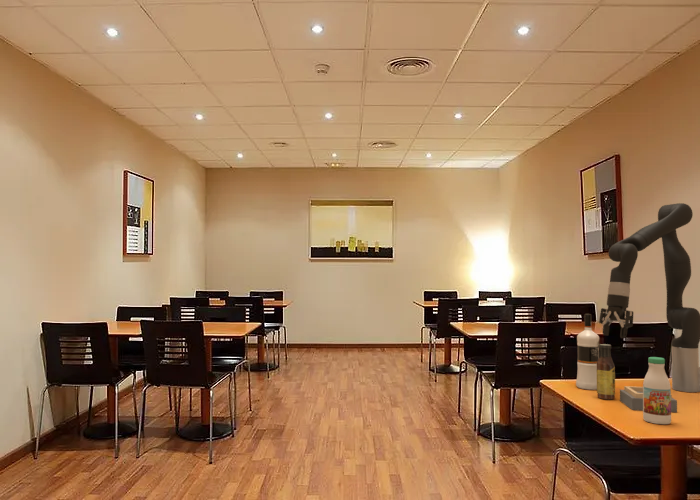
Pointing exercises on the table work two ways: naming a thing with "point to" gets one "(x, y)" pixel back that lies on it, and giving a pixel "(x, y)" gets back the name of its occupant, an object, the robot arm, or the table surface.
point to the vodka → (587, 357)
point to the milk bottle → (656, 393)
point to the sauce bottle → (605, 373)
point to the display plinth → (638, 398)
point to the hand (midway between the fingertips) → (614, 336)
